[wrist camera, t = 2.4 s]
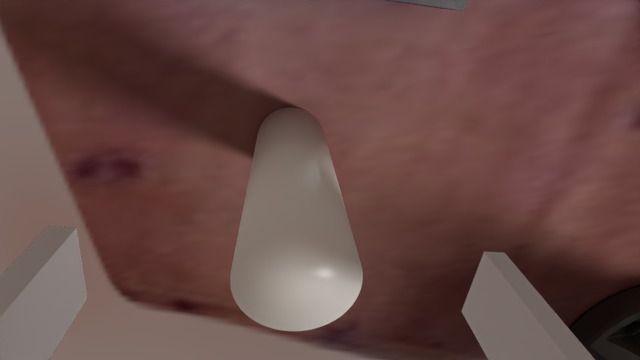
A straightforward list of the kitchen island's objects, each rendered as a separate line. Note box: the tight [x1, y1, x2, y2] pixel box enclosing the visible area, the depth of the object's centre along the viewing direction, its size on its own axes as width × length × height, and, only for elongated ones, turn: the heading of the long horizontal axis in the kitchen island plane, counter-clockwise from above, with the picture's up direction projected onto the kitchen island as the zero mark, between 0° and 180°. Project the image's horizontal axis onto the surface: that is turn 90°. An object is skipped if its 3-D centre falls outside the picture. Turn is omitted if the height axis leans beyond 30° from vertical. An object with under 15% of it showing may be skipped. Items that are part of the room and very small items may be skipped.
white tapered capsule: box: [230, 107, 363, 331], centre depth 19 cm, size 4×4×14 cm
